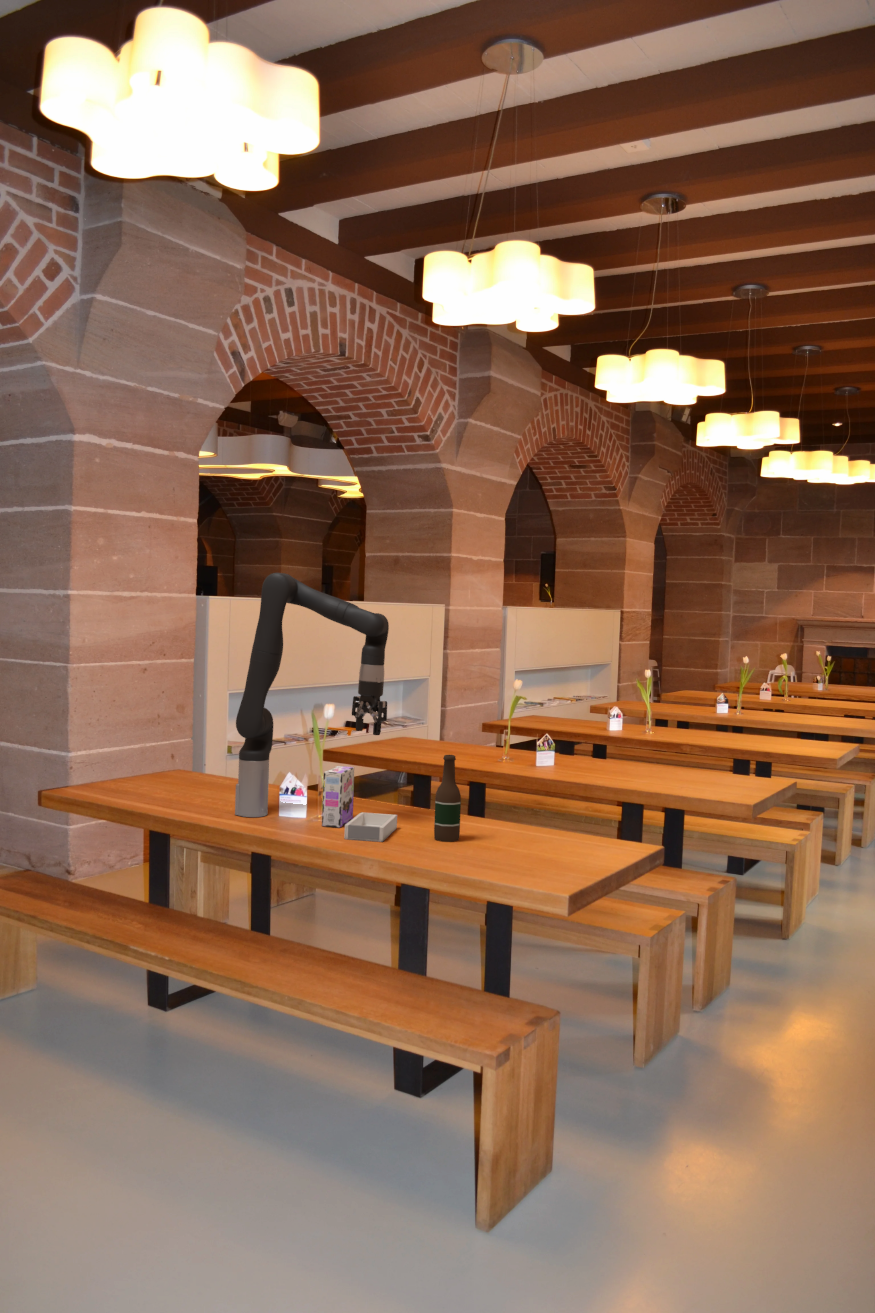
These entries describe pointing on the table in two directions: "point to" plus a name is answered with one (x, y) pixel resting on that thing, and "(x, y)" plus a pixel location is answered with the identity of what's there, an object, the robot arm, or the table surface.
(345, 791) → the candy box
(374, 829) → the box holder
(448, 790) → the beer bottle
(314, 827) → the table surface
